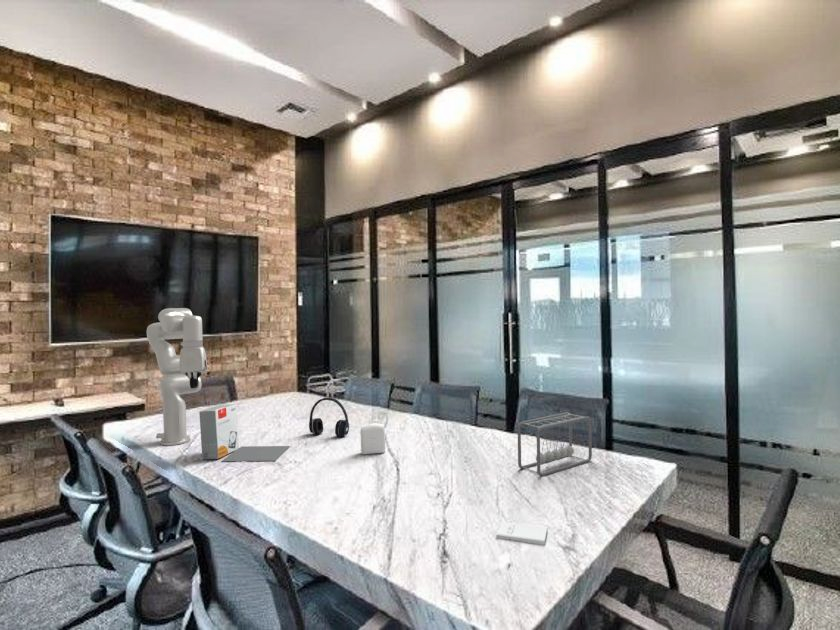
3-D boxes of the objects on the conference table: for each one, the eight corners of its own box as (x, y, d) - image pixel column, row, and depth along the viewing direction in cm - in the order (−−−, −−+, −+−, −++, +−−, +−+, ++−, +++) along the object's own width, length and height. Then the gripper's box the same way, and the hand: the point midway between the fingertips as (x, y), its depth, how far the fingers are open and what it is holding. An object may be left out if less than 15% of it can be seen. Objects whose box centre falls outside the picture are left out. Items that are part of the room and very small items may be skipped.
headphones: (307, 436, 227) (306, 398, 227) (314, 432, 234) (313, 395, 234) (344, 439, 221) (343, 400, 221) (350, 435, 228) (350, 397, 227)
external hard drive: (544, 547, 120) (496, 539, 124) (547, 532, 127) (501, 526, 132) (544, 540, 120) (496, 533, 124) (547, 526, 127) (501, 520, 132)
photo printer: (361, 455, 196) (360, 425, 196) (360, 452, 200) (360, 423, 200) (385, 453, 198) (385, 424, 197) (384, 450, 202) (384, 421, 202)
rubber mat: (221, 462, 191) (221, 461, 191) (241, 447, 211) (241, 446, 211) (275, 461, 190) (275, 460, 190) (290, 446, 210) (290, 445, 210)
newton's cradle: (539, 478, 166) (538, 428, 166) (517, 469, 175) (516, 422, 175) (592, 461, 183) (591, 415, 183) (570, 454, 192) (569, 411, 191)
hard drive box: (218, 459, 192) (214, 411, 192) (201, 459, 194) (197, 411, 194) (240, 448, 207) (236, 403, 207) (224, 448, 209) (221, 404, 209)
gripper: (170, 345, 197) (172, 389, 197) (206, 345, 196) (207, 389, 196) (180, 344, 204) (181, 386, 204) (214, 343, 204) (215, 386, 204)
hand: (194, 387), depth 200 cm, fingers closed
